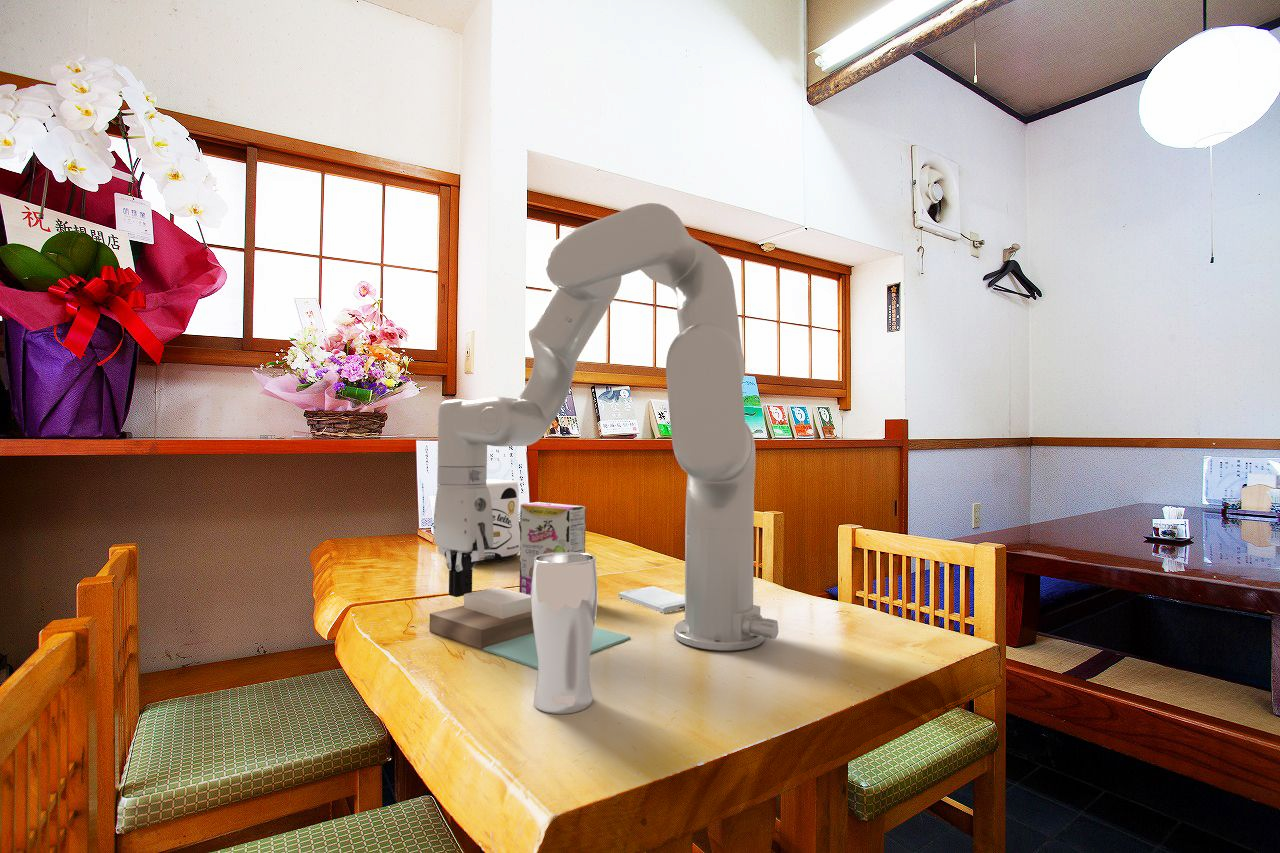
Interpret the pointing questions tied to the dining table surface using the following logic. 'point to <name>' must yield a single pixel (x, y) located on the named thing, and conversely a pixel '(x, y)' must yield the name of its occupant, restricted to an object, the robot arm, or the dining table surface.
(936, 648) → the dining table surface
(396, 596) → the dining table surface
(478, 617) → the block
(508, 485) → the doce de leite container
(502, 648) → the mat
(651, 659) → the dining table surface
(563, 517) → the candy bar box
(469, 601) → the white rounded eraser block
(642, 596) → the hard drive
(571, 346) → the robot arm
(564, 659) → the beer glass
